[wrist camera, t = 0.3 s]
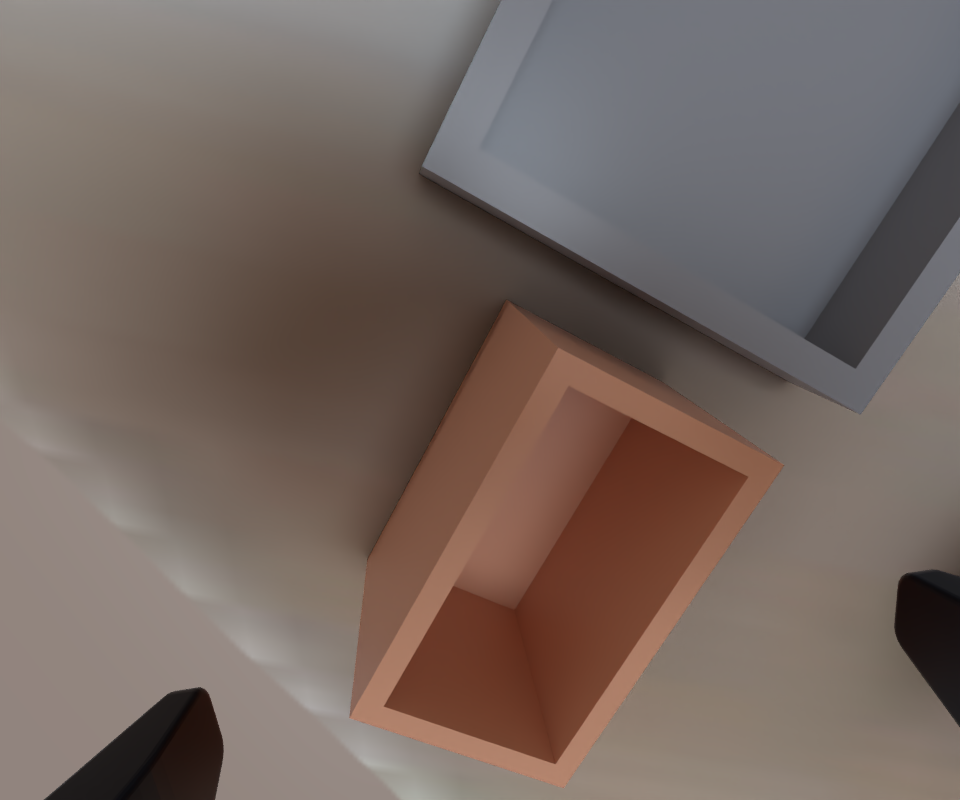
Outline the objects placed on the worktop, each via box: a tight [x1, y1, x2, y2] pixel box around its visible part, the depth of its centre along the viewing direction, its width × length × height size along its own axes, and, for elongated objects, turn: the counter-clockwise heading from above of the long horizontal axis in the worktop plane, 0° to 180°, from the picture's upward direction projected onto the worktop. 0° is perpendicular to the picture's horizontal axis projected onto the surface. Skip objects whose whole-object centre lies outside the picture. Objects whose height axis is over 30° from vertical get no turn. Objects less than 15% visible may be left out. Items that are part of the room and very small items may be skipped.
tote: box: [349, 300, 784, 788], centre depth 18 cm, size 6×10×7 cm, turn 152°
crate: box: [419, 0, 960, 414], centre depth 16 cm, size 14×16×4 cm
